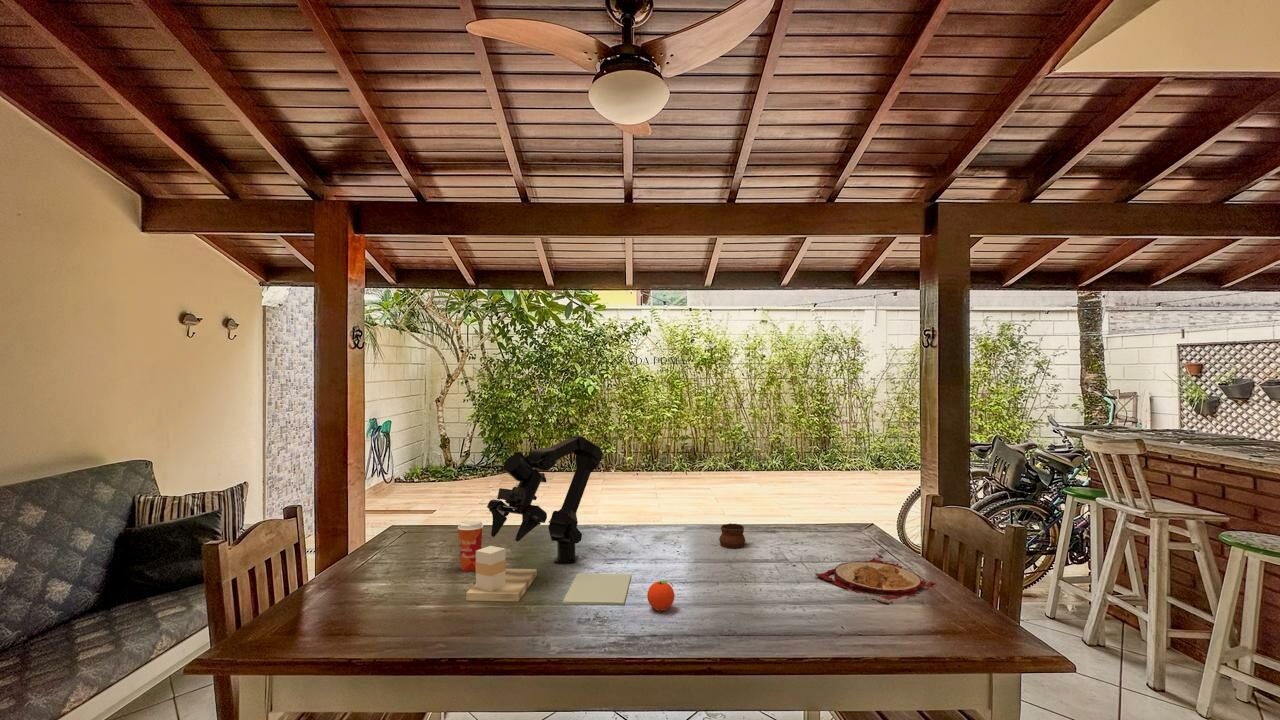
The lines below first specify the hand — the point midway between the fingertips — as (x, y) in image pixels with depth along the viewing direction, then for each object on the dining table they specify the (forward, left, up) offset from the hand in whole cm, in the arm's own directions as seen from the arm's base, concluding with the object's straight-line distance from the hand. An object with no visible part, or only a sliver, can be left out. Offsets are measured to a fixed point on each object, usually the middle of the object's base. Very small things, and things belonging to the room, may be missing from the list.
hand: (504, 538), depth 172 cm
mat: (+1, +27, -14) cm, 30 cm away
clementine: (+14, +45, -14) cm, 49 cm away
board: (+1, 0, -14) cm, 13 cm away
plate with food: (-9, +106, -14) cm, 107 cm away
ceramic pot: (-44, +67, -14) cm, 81 cm away
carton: (+6, -2, -12) cm, 13 cm away
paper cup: (-15, -15, -14) cm, 26 cm away
